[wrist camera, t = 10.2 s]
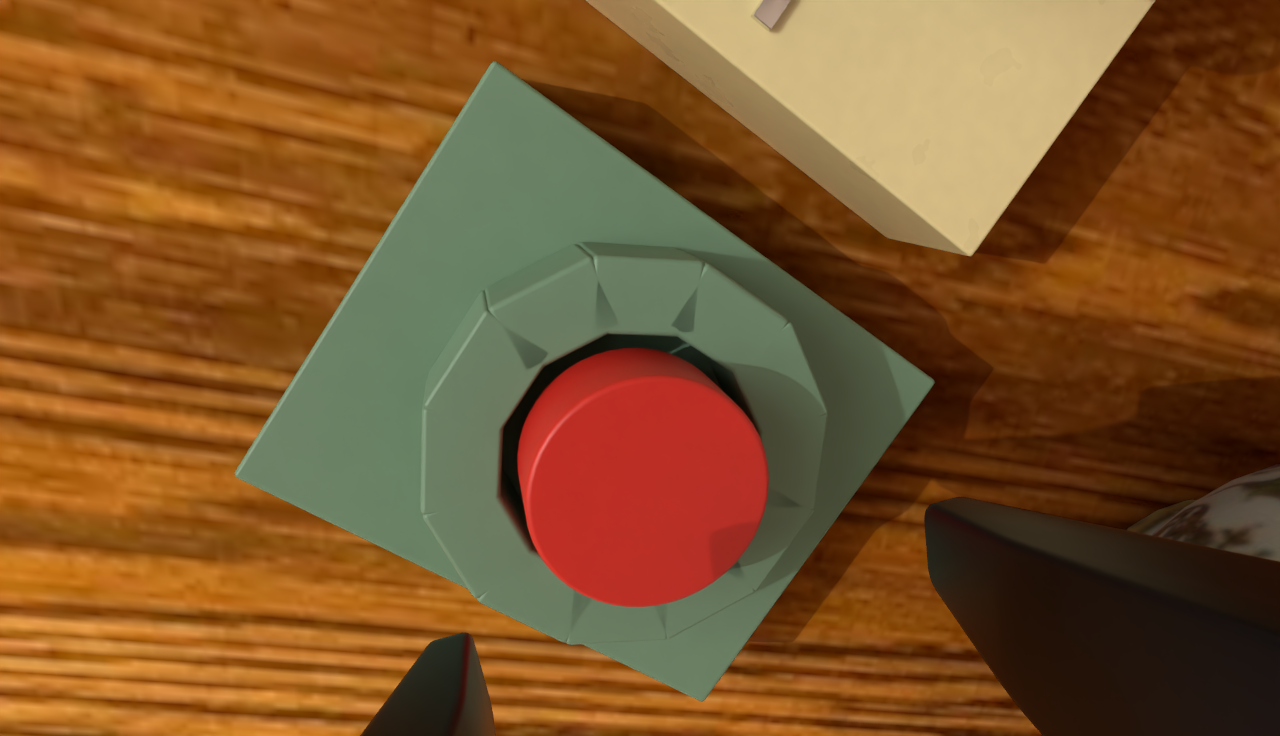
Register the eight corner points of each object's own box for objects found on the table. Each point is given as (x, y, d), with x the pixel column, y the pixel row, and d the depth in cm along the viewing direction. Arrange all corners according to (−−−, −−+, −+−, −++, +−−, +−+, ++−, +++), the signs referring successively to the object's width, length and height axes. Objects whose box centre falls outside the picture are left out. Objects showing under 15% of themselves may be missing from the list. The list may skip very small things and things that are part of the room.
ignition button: (472, 492, 13) (475, 543, 11) (598, 303, 13) (619, 327, 11) (653, 587, 14) (680, 646, 12) (774, 417, 14) (817, 454, 12)
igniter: (262, 432, 15) (198, 525, 12) (488, 70, 15) (499, 45, 11) (676, 641, 19) (731, 768, 15) (881, 354, 18) (996, 410, 14)
